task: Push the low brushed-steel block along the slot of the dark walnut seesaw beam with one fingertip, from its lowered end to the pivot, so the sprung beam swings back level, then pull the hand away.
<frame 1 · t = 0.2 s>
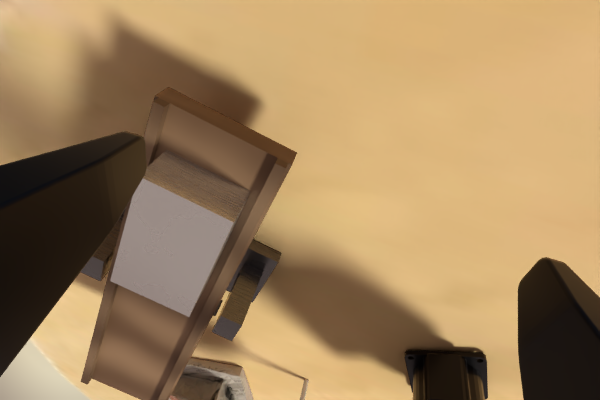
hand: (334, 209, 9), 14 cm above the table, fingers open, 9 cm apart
stand: (196, 240, 33), on the table
lollipop: (306, 378, 42), on the table
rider: (189, 222, 24), point 5 cm above the table, tilted 6°, touching beam
beam: (164, 290, 28), point 5 cm above the table, hinge at 6.3°, touching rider
packaged product: (220, 394, 50), on the table
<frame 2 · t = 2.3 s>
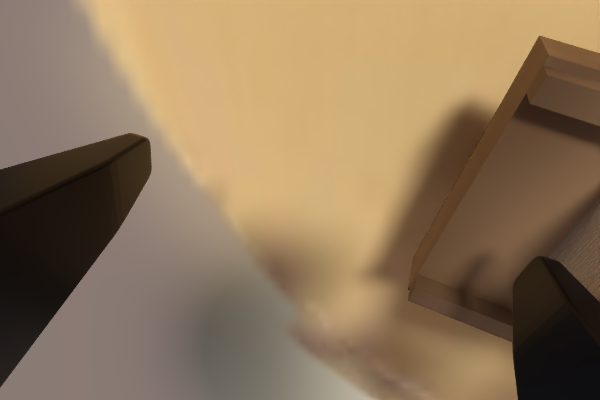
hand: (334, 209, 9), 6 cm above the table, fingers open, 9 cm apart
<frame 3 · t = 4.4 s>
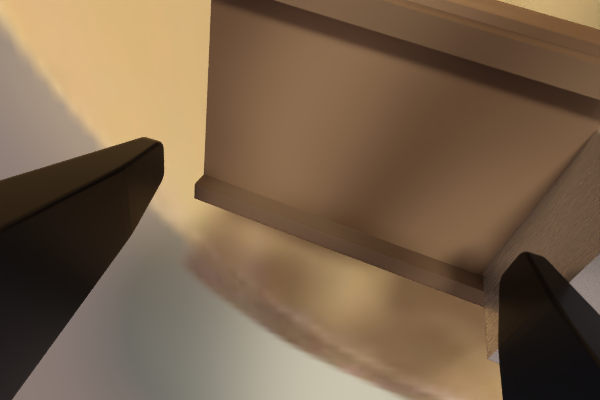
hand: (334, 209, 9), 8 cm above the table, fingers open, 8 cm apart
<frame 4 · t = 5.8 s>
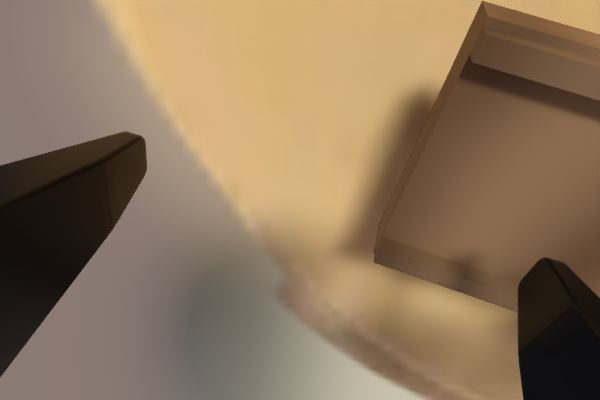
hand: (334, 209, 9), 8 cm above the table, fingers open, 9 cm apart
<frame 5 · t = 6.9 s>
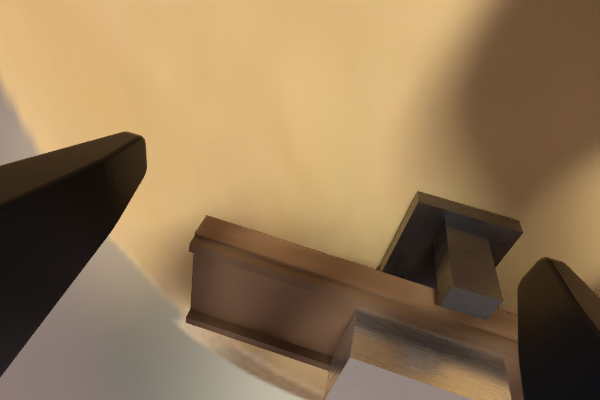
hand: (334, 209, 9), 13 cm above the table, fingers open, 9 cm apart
stand: (423, 277, 27), on the table
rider: (411, 355, 23), point 6 cm above the table, touching beam
beam: (426, 347, 23), point 5 cm above the table, hinge at 1.6°, touching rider
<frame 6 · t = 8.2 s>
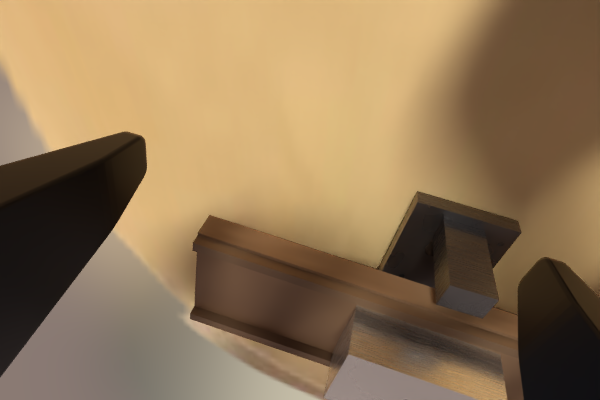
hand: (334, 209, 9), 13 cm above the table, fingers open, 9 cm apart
stand: (423, 275, 28), on the table
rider: (409, 352, 23), point 6 cm above the table, touching beam
beam: (424, 344, 23), point 5 cm above the table, hinge at 1.4°, touching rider
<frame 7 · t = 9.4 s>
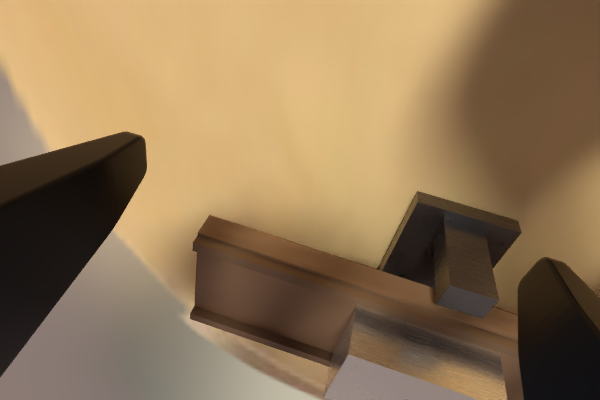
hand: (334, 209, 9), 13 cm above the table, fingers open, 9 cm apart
stand: (423, 275, 28), on the table
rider: (409, 352, 23), point 6 cm above the table, touching beam
beam: (424, 344, 23), point 5 cm above the table, hinge at 1.4°, touching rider
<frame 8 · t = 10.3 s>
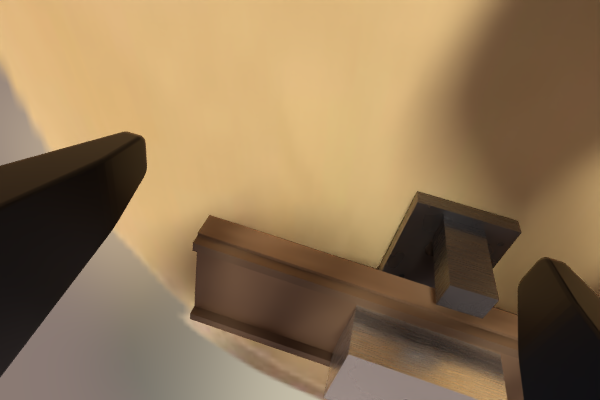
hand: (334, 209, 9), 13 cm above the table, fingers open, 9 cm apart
stand: (423, 275, 28), on the table
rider: (409, 352, 23), point 6 cm above the table, touching beam
beam: (424, 344, 23), point 5 cm above the table, hinge at 1.4°, touching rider
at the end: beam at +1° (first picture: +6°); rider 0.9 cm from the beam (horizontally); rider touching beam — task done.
